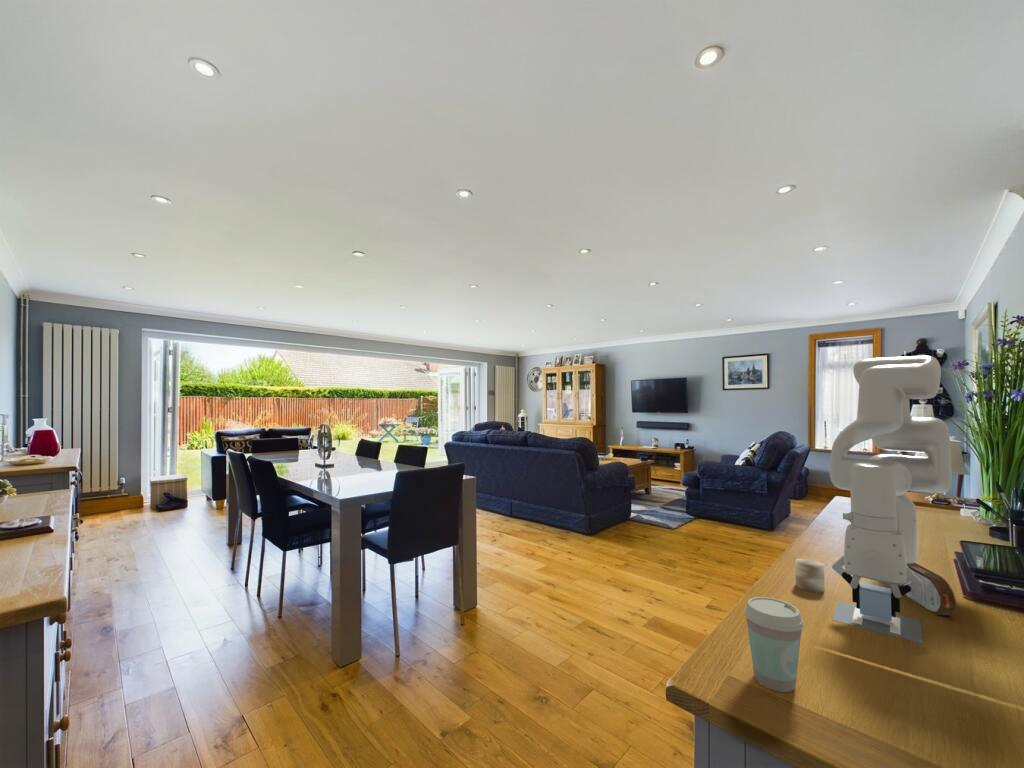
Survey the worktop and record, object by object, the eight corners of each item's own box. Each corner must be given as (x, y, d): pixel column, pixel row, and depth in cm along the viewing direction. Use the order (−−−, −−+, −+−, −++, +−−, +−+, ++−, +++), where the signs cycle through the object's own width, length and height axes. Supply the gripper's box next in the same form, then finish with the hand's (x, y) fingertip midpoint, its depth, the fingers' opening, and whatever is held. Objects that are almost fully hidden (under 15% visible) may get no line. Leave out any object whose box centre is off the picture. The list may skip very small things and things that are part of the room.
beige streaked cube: (793, 589, 110) (793, 563, 110) (797, 582, 114) (797, 556, 115) (823, 596, 106) (822, 569, 106) (826, 588, 110) (825, 562, 111)
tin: (958, 623, 93) (957, 582, 94) (940, 621, 94) (939, 581, 94) (910, 593, 108) (908, 558, 108) (895, 592, 109) (894, 557, 109)
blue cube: (861, 605, 97) (861, 582, 97) (891, 613, 94) (891, 588, 94) (860, 613, 93) (859, 589, 93) (891, 621, 90) (890, 596, 90)
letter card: (837, 602, 102) (837, 601, 102) (920, 622, 93) (920, 620, 93) (832, 621, 93) (832, 619, 93) (923, 645, 84) (923, 643, 84)
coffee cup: (784, 704, 67) (783, 623, 68) (733, 674, 75) (732, 601, 76) (817, 688, 71) (815, 611, 72) (765, 661, 79) (764, 591, 79)
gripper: (822, 518, 97) (824, 604, 96) (929, 534, 86) (932, 631, 85) (826, 512, 103) (828, 593, 102) (927, 526, 92) (930, 617, 91)
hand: (875, 609), depth 93 cm, fingers closed on blue cube, 5 cm apart
